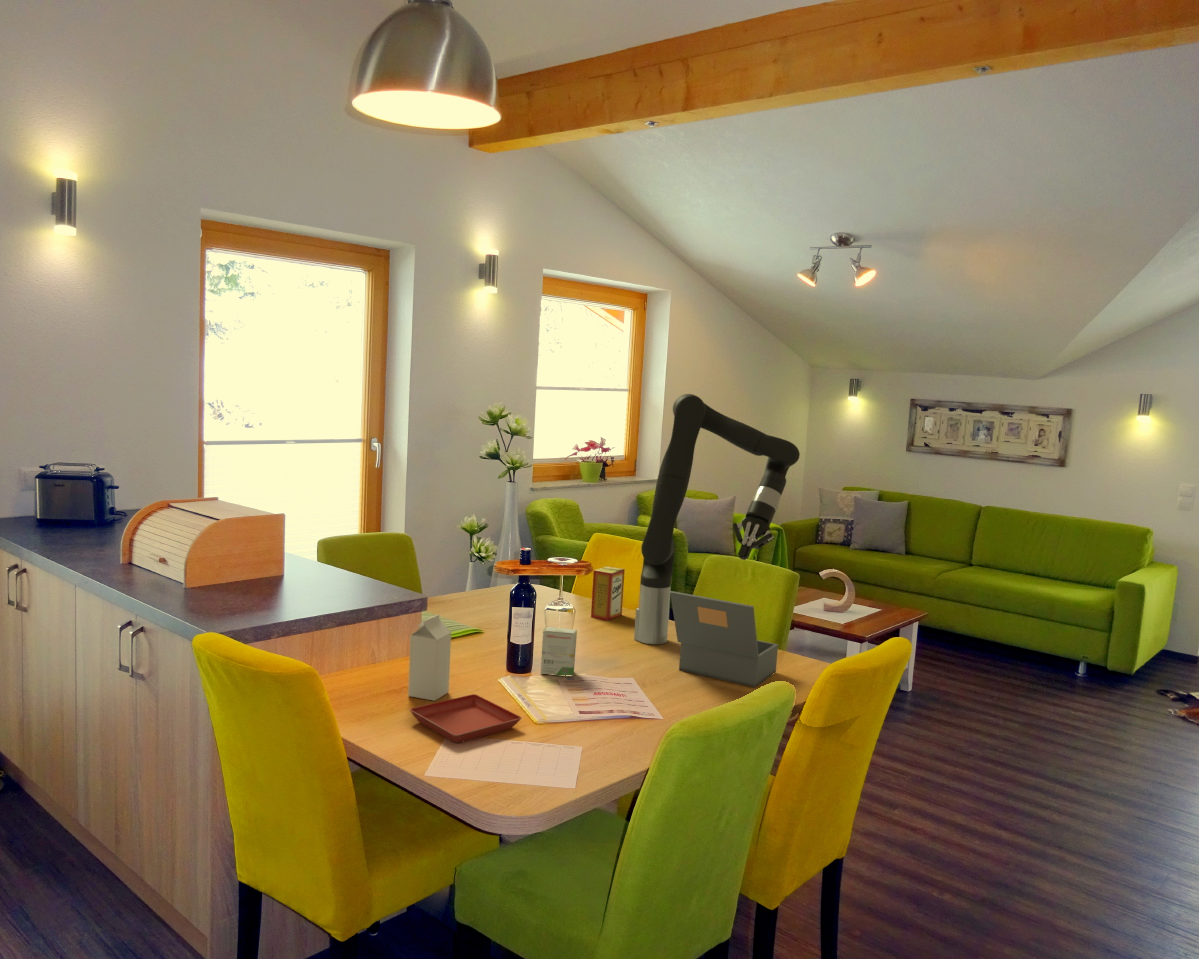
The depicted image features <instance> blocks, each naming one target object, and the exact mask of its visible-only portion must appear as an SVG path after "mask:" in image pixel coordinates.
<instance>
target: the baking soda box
mask: <svg viewBox="0 0 1199 959" xmlns="http://www.w3.org/2000/svg"><path fill="white" fill-rule="evenodd" d="M624 581H625V568H621V567H620V568H619V567H613V566H608V565H607V566H604V567H601V568H597V569H594V570H593V578H592V590H591V591H592V594H591V607H590V608H591V611H590V613H591V614H590V618H593V619H596V620H597V619H598V620H603V621H611V620H614V619H616V618H619V617H621V616H622V614H623V603H624V602H623V601H624V600H623V599H624V586H625V585H624V584H625V582H624Z"/></svg>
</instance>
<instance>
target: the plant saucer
mask: <svg viewBox="0 0 1199 959" xmlns="http://www.w3.org/2000/svg"><path fill="white" fill-rule="evenodd" d="M409 711H410V713H411V714H412V716H414V718H415V719H416V720H417V721H418V722H419V723H420V724H422V725H423V726H424V727H426V728H428V729H431V731H434V732H435V733H437V734H439V735H441V736H443V737H444V738H446V739H447V738H448V740H449V739H450V741H451V742H453V743H454V742H455V744H460V742H461V743H464V742H463V741H465V742H468V741H467V740H469V741H471V740H470V739H472V740H475V738H476V739H479V738H482V737H487V736H490V735H493V734H497V733H501V732H505V731H509V730H510V729H512V728H513V727H515V726H516V725H517V724H518V723H519V722H520V720H522V716H520V715H519V714H516V713H515V712H513V711H510V710H508V709H506V708H505V707H502V706H500V705H498V704H496V703H495V702H493V701H490V700H489V699H487V698H484V697H483V696H480V695H479V694H476V693H475V694H474V693H473V694H469V695H463V696H459V697H456V698H451V699H446V700H442V701H437V702H433V703H429V704H428V703H427V704H423V705H419V706H416V707H412V708H410V709H409Z"/></svg>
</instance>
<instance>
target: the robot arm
mask: <svg viewBox="0 0 1199 959" xmlns="http://www.w3.org/2000/svg"><path fill="white" fill-rule="evenodd" d="M672 413H673V417H674V418H673V427H672V432H671V438H670V441H669V443H668V445H667V448H666V451H665V454H664V456H663V458H662V462H661V465H660V467H659V471H658V476H657V480H656V485H655V491H654V496H653V502H652V511H651V516H650V520H649V523H648V526H647V529H646V533H645V535H644V538H643V541H642V543H641V546H640V547H641V555H642V557H643V559H642V560H643V561H642V570H641V572H640V573H641V574H640V584H639V600H638V607H637V608H636V609H635V619H634V633H633V634H634V636H633V639H634V640H635V641H637V642H638V643H639V642H640V643H642V644H647V645H663V644H666V643H667V642H668V636H669V635H668V633H669V620H670V602H671V595H670V592H671V591H672V590H671V589H672V588H671V586H672V579H673V571H674V564H675V563H674V562H675V561H674V560H675V541H674V539H673V537H674V530H675V524H676V520H677V518H678V515H679V513H680V511H681V509H682V506H683V503H684V501H685V498H686V495H687V490H688V486H689V482H690V478H691V475H692V474H691V473H692V468H693V462H694V455H695V449H696V443H697V439H698V436H699V433H700V430H701V429H702V430H705V431H707V432H710V433H713V434H714V435H716V436H718V437H720V438H722V439H723V440H725V441H727V442H729V443H730V444H732V445H734V446H735V447H737V448H740V449H741V450H743V451H745V452H748V453H749V454H752V455H754V456H757V457H761V456H763V457H767V461H766V464H765V468H764V474H763V475H762V477H761V480H760V483H759V484H758V487H757V488H756V491H755V493H754V494H753V497H752V499H751V502H750V505H749V506H748V509H747V511H746V514H745V517H744V518H742V520H741V522H738V523H737V522H734V523H733V524H732V527H733V530H734V533H735V537H736V540H737V542H738V543H739V544H740V548H739V550H738V553H737V556H738V558H739V559H740V560H743V561H746V560H748V559H749V557H750V555H751V552H752V550H753V549H756V550H759V549H761V548H762V547H764V546H765V545H767V544H769V543H770V542H772V541H773V540H774V539H775V537H774V534H772V532H771V527H770V526H771V524H772V522H773V519H774V517H775V514H776V512H777V510H778V508H779V504H780V501H781V497H782V495H783V492H784V490H785V488H786V485H787V477H786V476H787V473H788V470H789V469H790V468H791V466H794V465H795V464H797V462H798V461H799V459H800V456H801V455H800V454H801V453H800V450H799V448H798V446H797V445H795V444H794V443H793V442H791V441H790V440H786V439H783V438H781V437H777V436H774V435H769V434H766V433H765V432H762V431H760V430H758V429H756V428H754V427H752V426H750V425H748V424H746V423H743V422H742V421H739V420H736V419H734V418H731V417H729V416H726V415H724V414H722V413H721V412H719V411H717V410H715V409H714V408H712V407H711V406H709V405H708V404H707V403H705V402H704V401H703V399H702V398H700V397H699V396H698V395H695V394H692V393H685V394H682V395H680V396H679V397H677V398H676V399H675V400H674V402H673V406H672ZM742 530H743V532H744V533H743V536H742V533H741V531H742Z"/></svg>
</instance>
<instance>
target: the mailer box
mask: <svg viewBox="0 0 1199 959" xmlns="http://www.w3.org/2000/svg"><path fill="white" fill-rule="evenodd" d="M757 645H758V655H759V658H758V659H756V658H752V657H747V656H742V655H737V654H733V653H728V652H723V651H718V650H714V649H709V648H704V647H699V646H695V645H690V644H685V643H680V650H679V663H678V665H679V666H678V670H679V671H681V672H685V673H689V674H690V673H691V674H694V675H700V676H703V677H708V678H710V679H711V678H712V679H717V680H721V681H725V682H729V683H734V684H739V685H743V686H746V687H752V688H756V687H758V686H759V685H761V684H762V683H763V682H765V681H767V680H768V679H769V678H771V677H772V676H773V675H774V674H773V673H775V672H777V664H778V663H777V662H778V661H777V660H778V650H779V644H778V643H772V642H769V641H768V642H767V641H763V640H759V639H757ZM772 674H773V675H772ZM775 674H776V673H775ZM771 675H772V676H771ZM768 677H769V678H768ZM767 678H768V679H767Z"/></svg>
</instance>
